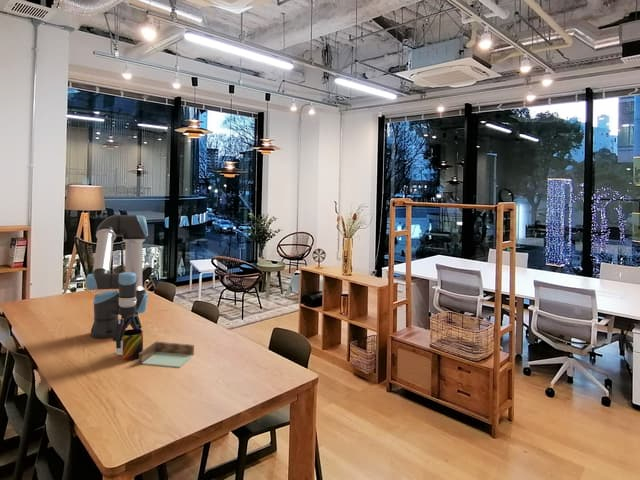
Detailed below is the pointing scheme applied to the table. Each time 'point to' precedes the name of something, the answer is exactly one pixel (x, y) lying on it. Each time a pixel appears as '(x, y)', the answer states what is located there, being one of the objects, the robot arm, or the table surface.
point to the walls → (165, 350)
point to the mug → (132, 344)
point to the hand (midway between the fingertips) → (128, 349)
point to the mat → (167, 359)
